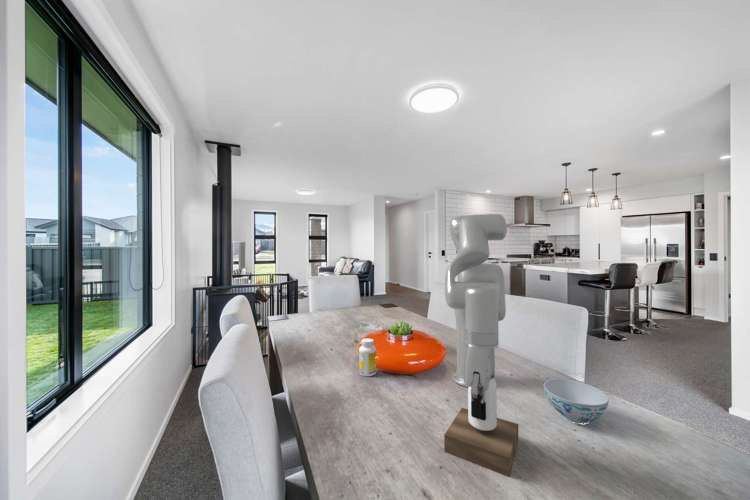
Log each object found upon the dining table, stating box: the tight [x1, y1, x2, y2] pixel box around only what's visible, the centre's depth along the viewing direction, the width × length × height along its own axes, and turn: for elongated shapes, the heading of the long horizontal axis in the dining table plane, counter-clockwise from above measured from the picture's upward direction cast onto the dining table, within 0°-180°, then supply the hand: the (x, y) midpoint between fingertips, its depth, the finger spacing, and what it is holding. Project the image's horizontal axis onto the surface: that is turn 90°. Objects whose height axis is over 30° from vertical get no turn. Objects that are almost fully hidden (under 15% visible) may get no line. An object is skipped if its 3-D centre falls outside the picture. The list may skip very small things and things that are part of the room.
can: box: [467, 373, 498, 431], centre depth 70 cm, size 6×6×12 cm
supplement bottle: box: [358, 338, 378, 377], centre depth 112 cm, size 7×7×13 cm
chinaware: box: [543, 378, 610, 424], centre depth 81 cm, size 15×15×8 cm
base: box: [443, 407, 519, 478], centre depth 70 cm, size 14×14×4 cm
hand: (482, 410), depth 70 cm, fingers closed on can, 6 cm apart
